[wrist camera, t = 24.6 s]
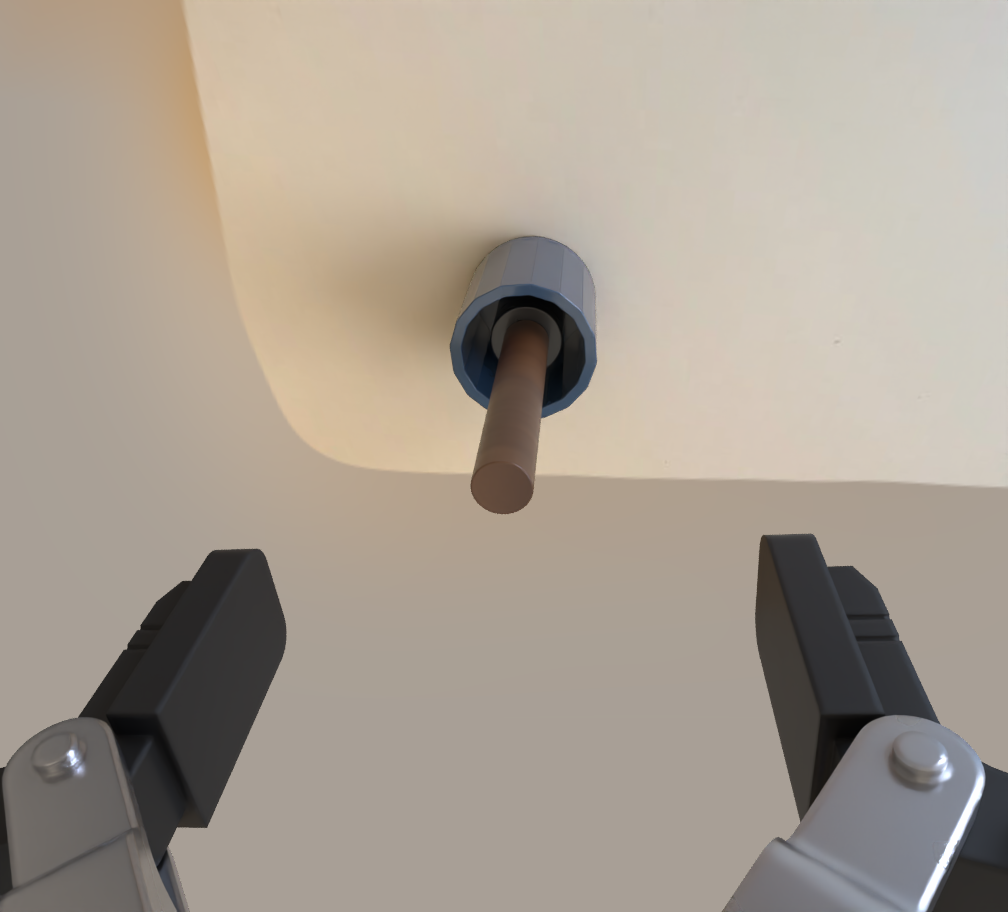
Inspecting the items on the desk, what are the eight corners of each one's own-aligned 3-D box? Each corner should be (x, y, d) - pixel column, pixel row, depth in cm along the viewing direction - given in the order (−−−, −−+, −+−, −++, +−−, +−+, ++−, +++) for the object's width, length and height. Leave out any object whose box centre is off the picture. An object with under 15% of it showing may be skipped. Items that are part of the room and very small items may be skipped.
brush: (504, 334, 42) (458, 531, 27) (496, 272, 40) (444, 447, 26) (567, 329, 41) (556, 528, 27) (562, 267, 40) (548, 442, 25)
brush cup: (478, 359, 43) (460, 423, 37) (462, 241, 40) (440, 290, 34) (598, 351, 42) (599, 415, 36) (591, 230, 39) (592, 278, 33)
